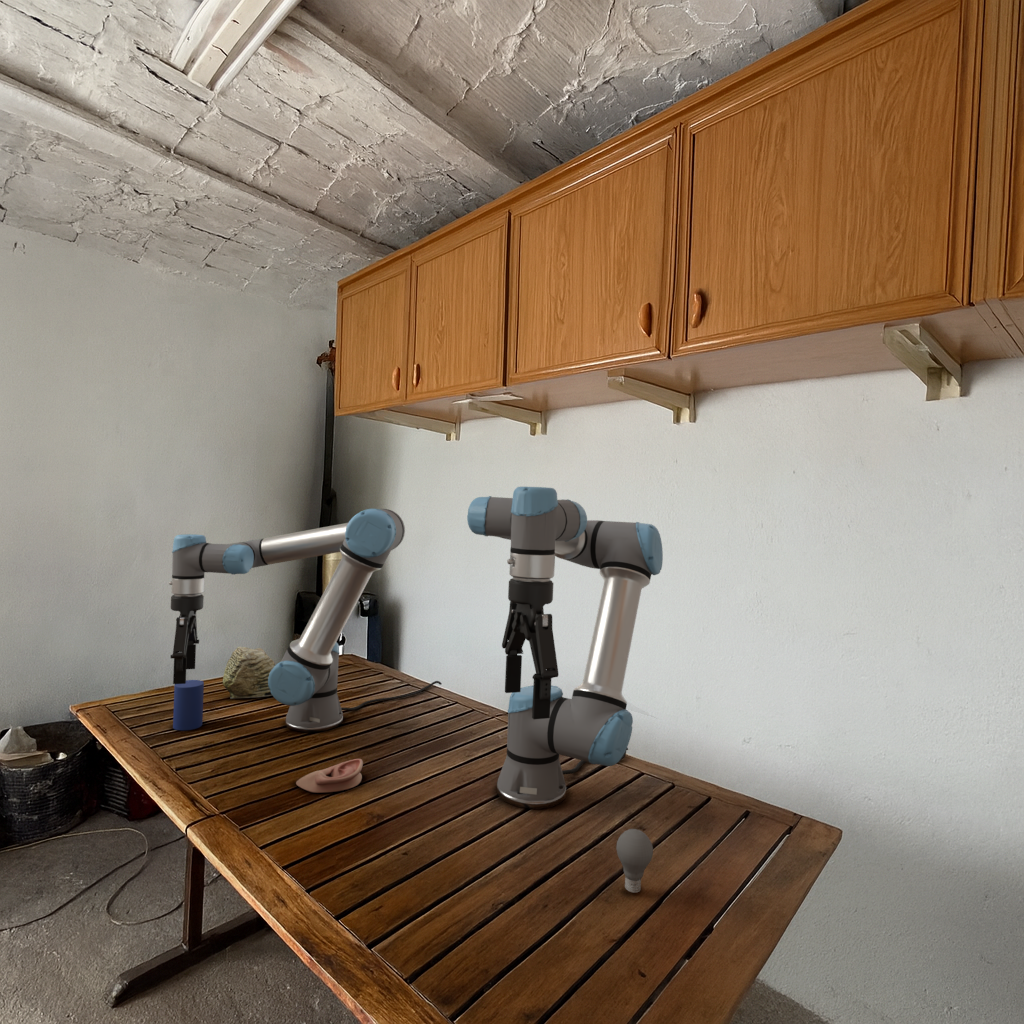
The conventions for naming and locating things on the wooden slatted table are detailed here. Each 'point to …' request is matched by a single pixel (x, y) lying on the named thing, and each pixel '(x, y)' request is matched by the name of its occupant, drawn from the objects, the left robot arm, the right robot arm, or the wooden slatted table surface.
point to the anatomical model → (333, 777)
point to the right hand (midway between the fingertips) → (525, 704)
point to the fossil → (248, 673)
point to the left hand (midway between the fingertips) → (184, 676)
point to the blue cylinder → (188, 705)
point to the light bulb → (634, 857)
